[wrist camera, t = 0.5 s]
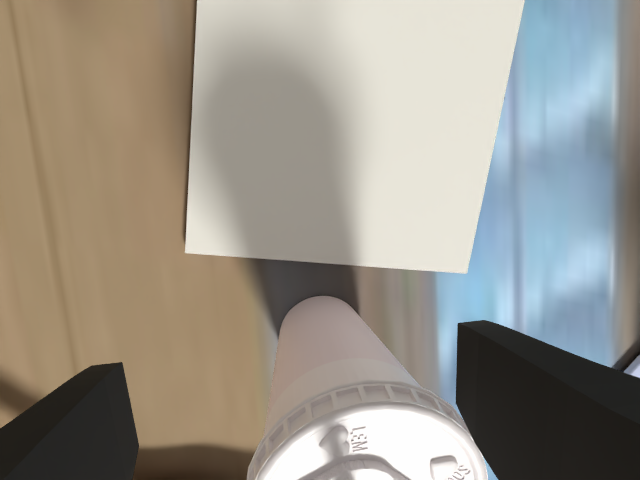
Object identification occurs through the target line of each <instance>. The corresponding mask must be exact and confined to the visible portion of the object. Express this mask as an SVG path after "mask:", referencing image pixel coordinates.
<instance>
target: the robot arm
mask: <svg viewBox="0 0 640 480" xmlns="http://www.w3.org/2000/svg"><path fill="white" fill-rule="evenodd" d="M456 404H457V407H458V409H459V411H460V413H461V415H462V417H463V420H464V422H465V424H466V426H467V428H468V430H469V432H470V434H471V436H472V438H473V440H474V442H475V444H476V446H477V447H478V449H479V450H480V452H481V453H482V455H483V457H484V458H485V460H486V461H487V463H488V464H489V466H490V467H491V469H492V471H493V472H494V474H495V475H496V477H497V478H498V480H640V355H639V356H638V357H637V358H636V359H635V360H634V361H633V362H632V363H631V364H630V365H629V367H628V368H627V369H626V370H625V371H624V372H621V371H618V370H615V369H612V368H610V367H607V366H604V365H601V364H598V363H596V362H593V361H590V360H588V359H585V358H582V357H580V356H577V355H574V354H572V353H569V352H567V351H564V350H562V349H559V348H557V347H554V346H552V345H549V344H547V343H545V342H542V341H540V340H537V339H535V338H532V337H530V336H527V335H525V334H522V333H520V332H517V331H515V330H512V329H510V328H507V327H504V326H502V325H499V324H496V323H493V322H489V321H486V320H481V321H472V322H464V323H458V336H457V377H456ZM138 448H139V443H138V438H137V433H136V428H135V423H134V418H133V413H132V408H131V403H130V398H129V393H128V388H127V383H126V378H125V373H124V368H123V363H122V362H120V363H111V364H102V365H94V366H90V367H89V368H87V369H85V370H83V371H82V372H80V373H79V374H77V375H75V376H74V377H73V378H71V379H70V380H68V381H67V382H65V383H64V384H62V385H61V386H60V387H58V388H57V389H55V390H54V391H53V392H51V393H50V394H48V395H47V396H46V397H44V398H43V399H41V400H40V401H39V402H37V403H36V404H34V405H33V406H32V407H30V408H29V409H27V410H26V411H25V412H23V413H22V414H20V415H19V416H18V417H16V418H15V419H13V420H12V421H11V422H9V423H8V424H6V425H5V426H3V427H2V428H0V480H132V477H133V473H134V468H135V463H136V458H137V453H138Z"/></svg>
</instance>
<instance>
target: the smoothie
mask: <svg viewBox="0 0 640 480" xmlns="http://www.w3.org/2000/svg"><path fill="white" fill-rule="evenodd" d="M247 480H488V476H487V470H486V465H485V462H484V459H483V456H482V454H481V452H480V450H479V449H478V447H477V446H476V444H475V442H474V440H473V438H472V436H471V434H470V432H469V430H468V428H467V426H466V424H465V422H464V420H463V419H462V418H461V417H460V415H459V414H458V413H457V412H456V410H455V409H454V408H453V406H452V405H450V404H449V403H448V402H446V401H445V400H443V399H442V398H440V397H439V396H437V395H436V394H434V393H433V392H431V391H430V390H428V389H424V388H422V387H421V386H420V385H419V384H418V383H417V381H416V380H414V379H413V378H412V376H411V375H410V374H409V373H408V372H407V371H406V369H405V368H404V367H403V366H402V365H401V364H400V363H399V361H398V360H397V359H396V358H395V357H394V356H393V354H392V353H391V352H390V351H389V350H388V349H387V347H386V346H385V345H384V344H383V343H382V342H381V341H380V339H379V338H378V337H377V336H376V335H375V334H374V332H373V331H372V330H371V329H370V328H369V327H368V326H367V324H366V323H365V322H364V321H363V320H362V319H361V317H360V316H359V315H358V314H357V313H356V312H355V311H354V309H353V308H352V307H351V306H350V305H349V304H347V303H346V302H344V301H342V300H340V299H338V298H335V297H331V296H315V297H311V298H308V299H305V300H303V301H301V302H300V303H298V304H296V305H295V306H294V307H293V308H292V309H291V310H290V311H289V312H288V313H287V315H286V316H285V318H284V320H283V322H282V325H281V328H280V334H279V340H278V347H277V354H276V360H275V367H274V373H273V380H272V386H271V393H270V400H269V406H268V413H267V419H266V425H265V430H264V437H263V438H262V440H261V441H260V443H259V445H258V447H257V449H256V451H255V454H254V456H253V458H252V460H251V463H250V465H249V467H248V473H247Z"/></svg>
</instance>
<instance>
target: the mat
mask: <svg viewBox="0 0 640 480" xmlns="http://www.w3.org/2000/svg"><path fill="white" fill-rule="evenodd" d="M524 1H525V0H197V16H196V37H195V58H194V79H193V100H192V121H191V141H190V162H189V183H188V204H187V225H186V246H185V253H192V254H205V255H219V256H233V257H246V258H260V259H274V260H288V261H301V262H315V263H329V264H342V265H356V266H370V267H383V268H397V269H411V270H424V271H438V272H452V273H465V274H467V270H468V266H469V261H470V256H471V252H472V247H473V242H474V237H475V233H476V228H477V223H478V219H479V214H480V209H481V204H482V200H483V195H484V190H485V186H486V181H487V176H488V171H489V167H490V162H491V157H492V152H493V148H494V143H495V138H496V134H497V129H498V124H499V119H500V115H501V110H502V105H503V101H504V96H505V91H506V86H507V82H508V77H509V72H510V68H511V63H512V58H513V53H514V49H515V44H516V39H517V35H518V30H519V25H520V20H521V16H522V11H523V6H524Z"/></svg>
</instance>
